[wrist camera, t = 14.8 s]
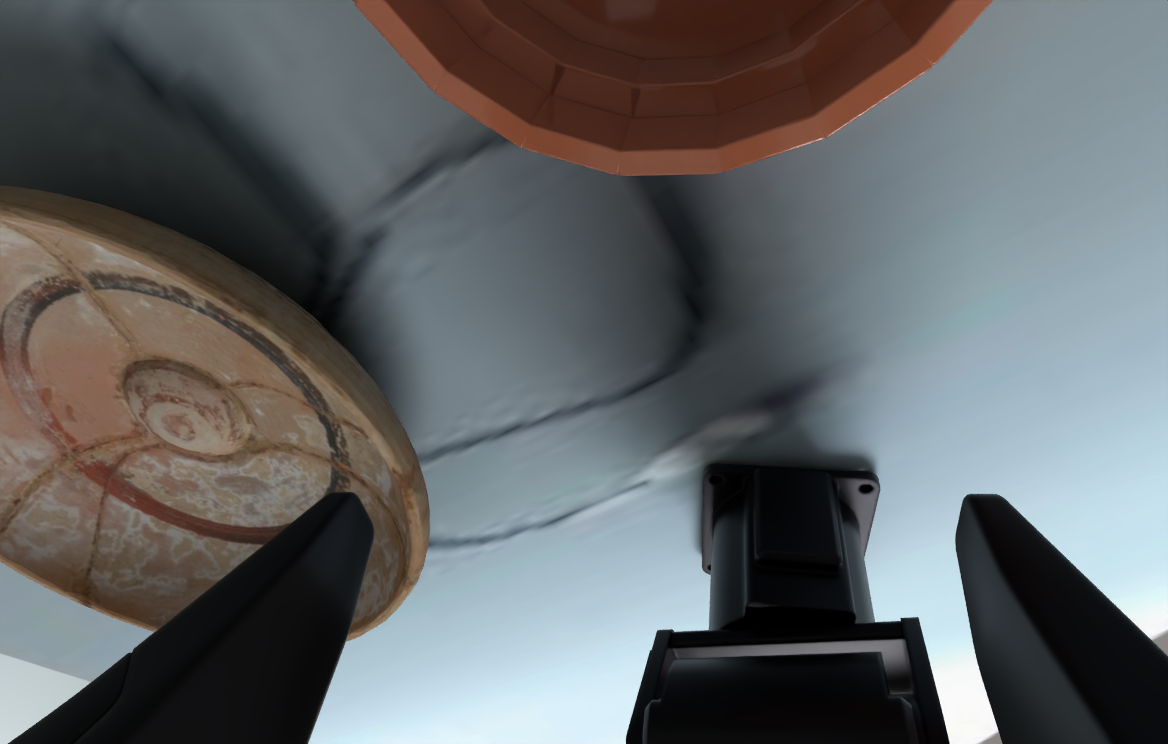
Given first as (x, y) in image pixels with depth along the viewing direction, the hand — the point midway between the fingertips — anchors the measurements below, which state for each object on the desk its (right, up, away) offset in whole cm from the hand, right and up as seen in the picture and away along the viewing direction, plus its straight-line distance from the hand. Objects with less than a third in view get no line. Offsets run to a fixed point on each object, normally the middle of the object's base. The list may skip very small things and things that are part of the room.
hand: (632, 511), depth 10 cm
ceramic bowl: (-17, +1, +20) cm, 27 cm away
